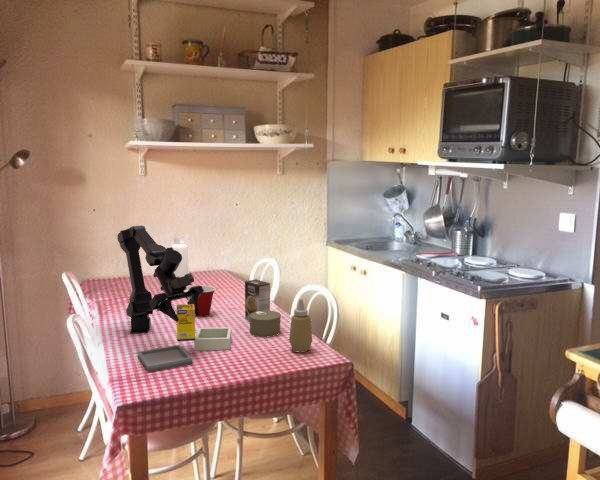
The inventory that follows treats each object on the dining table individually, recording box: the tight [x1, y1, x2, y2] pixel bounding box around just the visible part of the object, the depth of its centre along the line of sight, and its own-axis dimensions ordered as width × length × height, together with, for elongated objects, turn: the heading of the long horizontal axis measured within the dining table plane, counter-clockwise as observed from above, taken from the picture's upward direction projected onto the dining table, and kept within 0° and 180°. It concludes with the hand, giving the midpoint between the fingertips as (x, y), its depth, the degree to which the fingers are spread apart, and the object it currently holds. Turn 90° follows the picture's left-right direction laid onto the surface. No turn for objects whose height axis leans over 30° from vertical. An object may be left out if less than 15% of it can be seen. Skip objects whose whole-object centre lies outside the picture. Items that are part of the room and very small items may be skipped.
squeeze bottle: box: [288, 298, 313, 353], centre depth 178 cm, size 8×8×18 cm
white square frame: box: [193, 327, 232, 351], centre depth 185 cm, size 12×12×4 cm
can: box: [249, 310, 282, 338], centre depth 198 cm, size 12×12×7 cm
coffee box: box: [244, 279, 271, 322], centre depth 212 cm, size 9×6×16 cm
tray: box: [137, 344, 193, 373], centre depth 169 cm, size 14×14×2 cm
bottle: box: [170, 235, 190, 292], centre depth 254 cm, size 8×8×28 cm
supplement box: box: [176, 304, 196, 342], centre depth 173 cm, size 6×6×11 cm
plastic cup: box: [189, 284, 216, 318], centre depth 219 cm, size 11×11×12 cm
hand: (188, 318), depth 171 cm, fingers closed on supplement box, 8 cm apart
